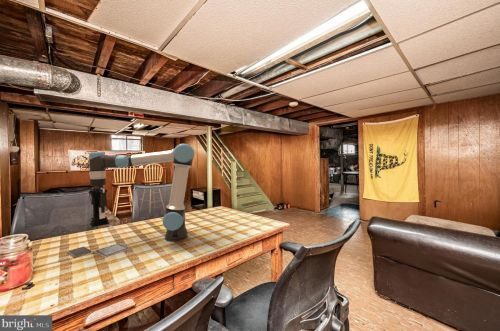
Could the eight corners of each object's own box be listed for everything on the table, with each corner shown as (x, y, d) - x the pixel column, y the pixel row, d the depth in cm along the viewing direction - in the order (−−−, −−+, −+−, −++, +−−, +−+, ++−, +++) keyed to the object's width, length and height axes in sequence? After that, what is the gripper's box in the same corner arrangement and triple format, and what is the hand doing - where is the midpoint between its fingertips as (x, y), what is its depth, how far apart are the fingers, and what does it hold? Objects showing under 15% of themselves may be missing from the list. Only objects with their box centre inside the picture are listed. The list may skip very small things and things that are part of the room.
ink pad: (84, 248, 124) (84, 246, 124) (91, 252, 119) (91, 249, 119) (67, 253, 117) (67, 250, 117) (74, 257, 112) (74, 255, 112)
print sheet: (119, 243, 132) (119, 242, 132) (130, 248, 124) (130, 247, 124) (93, 251, 120) (93, 250, 120) (104, 257, 112) (104, 256, 112)
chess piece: (89, 224, 120) (88, 190, 120) (105, 221, 126) (104, 189, 126) (92, 227, 115) (91, 191, 114) (109, 223, 120) (108, 190, 120)
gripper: (82, 178, 122) (84, 216, 122) (98, 179, 111) (99, 221, 112) (97, 177, 128) (99, 214, 129) (113, 178, 118) (114, 217, 118)
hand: (99, 217), depth 120 cm, fingers closed on chess piece, 7 cm apart
